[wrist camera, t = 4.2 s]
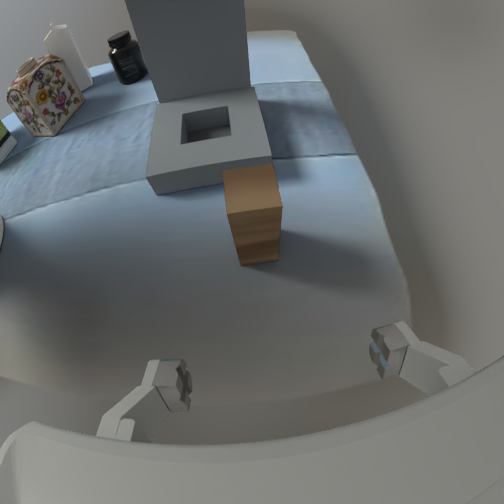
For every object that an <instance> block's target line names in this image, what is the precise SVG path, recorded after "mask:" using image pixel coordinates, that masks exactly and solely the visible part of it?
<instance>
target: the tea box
mask: <svg viewBox="0 0 504 504" xmlns="http://www.w3.org/2000/svg"><path fill="white" fill-rule="evenodd" d="M16 144H17V141H16V140H15V138H14V137H13V136H12V135H11V133H10V132H9V131H8V129H7V128H6V127H5V126H4V124H3V123H2V122H1V120H0V164H1V163H2V162H3V160H4V159H5V158H6V157H7V155H8V154H9V153H10V152H11V150H12V149H13V148H14V147H15V145H16Z"/></svg>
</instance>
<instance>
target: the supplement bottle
mask: <svg viewBox="0 0 504 504" xmlns="http://www.w3.org/2000/svg"><path fill="white" fill-rule="evenodd" d="M108 43H109V47H110V48H111V49H110V51H109V54H108V56H109V58H110V61H111V63H112V65H113V68H114V70H115V72H116V75H117V77H118V79H119V81H120V83H122V84H130V83H133V82H136V81H138V80H140V79H141V78H143V77H144V76H145V75H146V73H147V71H148V69H147V66H146V63H145V60H144V58H143V55H142V52H141V49H140V46H139V44H138V42H137V41H136V40H134V39H131V35H130V33H129V31H128V30H127V31H123V32H120V33H117V34H116V35H113V36H112V37H110V38H109V39H108Z"/></svg>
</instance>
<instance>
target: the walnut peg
mask: <svg viewBox="0 0 504 504" xmlns="http://www.w3.org/2000/svg"><path fill="white" fill-rule="evenodd" d="M223 182H224V192H225V202H226V212H227V217H228V220H229V224H230V228H231V232H232V235H233V239H234V243H235V246H236V250H237V254H238V257H239V261H240V265H241V266H242V265H249V264H256V263H263V262H270V261H277V260H278V253H279V242H280V230H281V218H282V202H281V197H280V193H279V188H278V184H277V180H276V175H275V171H274V167H273V164H269V165H261V166H253V167H246V168H239V169H232V170H226V171H223Z"/></svg>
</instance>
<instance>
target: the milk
mask: <svg viewBox="0 0 504 504" xmlns="http://www.w3.org/2000/svg"><path fill="white" fill-rule="evenodd" d="M50 27H51V31H50V33H49V34H48V36H47V37H46V39H45V40H44V42H43V43H44V45H45V47H46V49H47V51H48V53H49V54H52V55H54V56H57V57H59V58H62V59H63V60H64V61H65V63H66V65H67V67H68V69H69V71H70V72H71V74H72V76H73V78H74V80H75V81H76V83H77V85H78V87H79V89H80V91H81V92H82V91H83V90H85V89H87V88H88V87H90V86H92V85H93V82H92V77H91V75H90V72H89V70H88V68H87V66H86V64H85V62H84V60H83V58H82V56H81V54H80V52H79V49H78V47H77V45H76V43H75V41H74V39H73V36H72V34H71V32H70V30H69V27H68V25H58V26H54V24H53V22H52V23H51V24H50Z"/></svg>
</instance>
